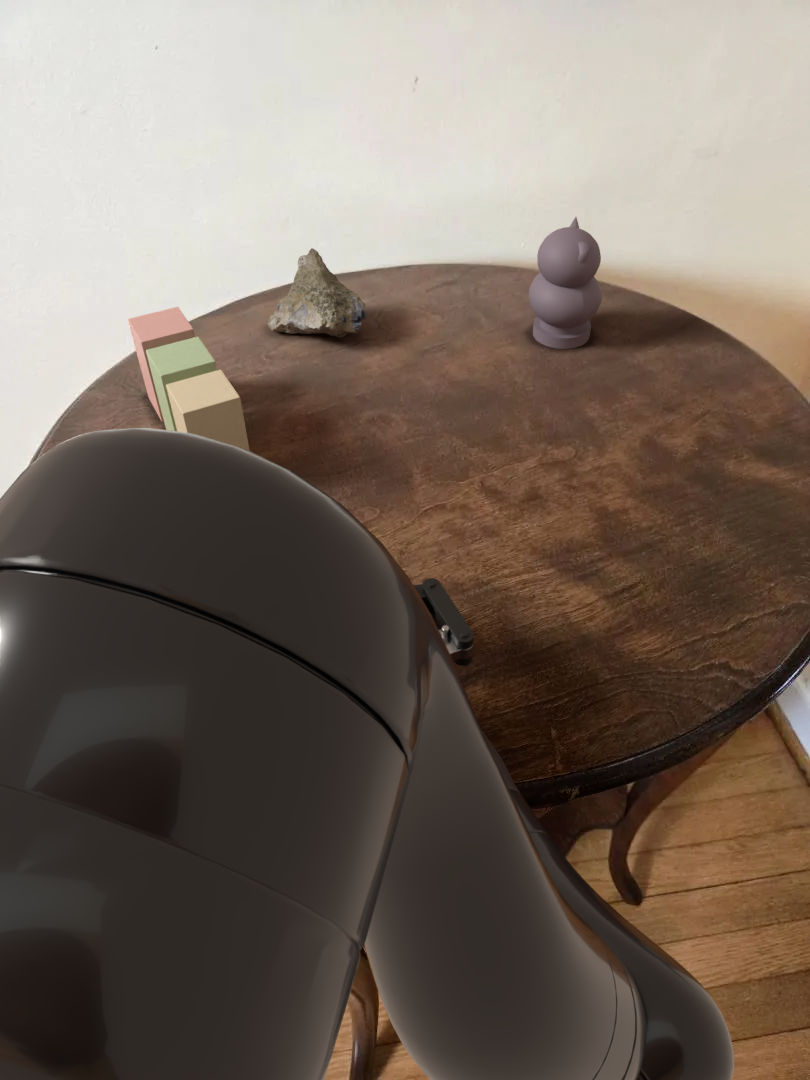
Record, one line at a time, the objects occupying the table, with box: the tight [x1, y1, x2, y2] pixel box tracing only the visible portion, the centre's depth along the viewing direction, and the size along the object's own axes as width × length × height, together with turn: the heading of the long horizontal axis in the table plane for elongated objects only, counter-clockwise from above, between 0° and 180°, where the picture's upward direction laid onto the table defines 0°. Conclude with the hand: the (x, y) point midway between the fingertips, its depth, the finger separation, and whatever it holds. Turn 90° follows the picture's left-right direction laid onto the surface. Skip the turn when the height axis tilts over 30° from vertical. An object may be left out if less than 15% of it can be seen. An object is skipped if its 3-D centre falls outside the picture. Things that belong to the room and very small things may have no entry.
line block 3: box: [166, 369, 251, 451], centre depth 75 cm, size 5×5×9 cm
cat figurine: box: [528, 216, 603, 350], centre depth 91 cm, size 8×8×12 cm
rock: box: [266, 247, 367, 338], centre depth 95 cm, size 11×6×10 cm
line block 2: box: [146, 336, 218, 431], centre depth 79 cm, size 5×5×9 cm
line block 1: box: [127, 306, 196, 423], centre depth 83 cm, size 5×5×9 cm
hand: (312, 582), depth 58 cm, fingers open, 8 cm apart
